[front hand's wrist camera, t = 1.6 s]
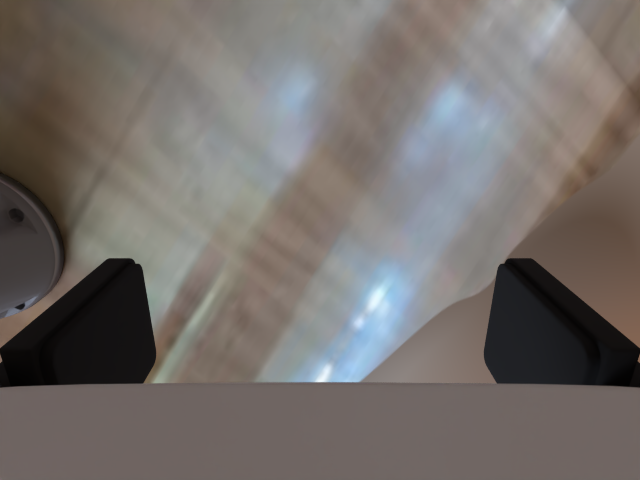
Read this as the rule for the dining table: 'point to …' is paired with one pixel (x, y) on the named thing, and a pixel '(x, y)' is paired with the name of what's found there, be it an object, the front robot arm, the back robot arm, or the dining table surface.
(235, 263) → the dining table surface
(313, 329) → the dining table surface
